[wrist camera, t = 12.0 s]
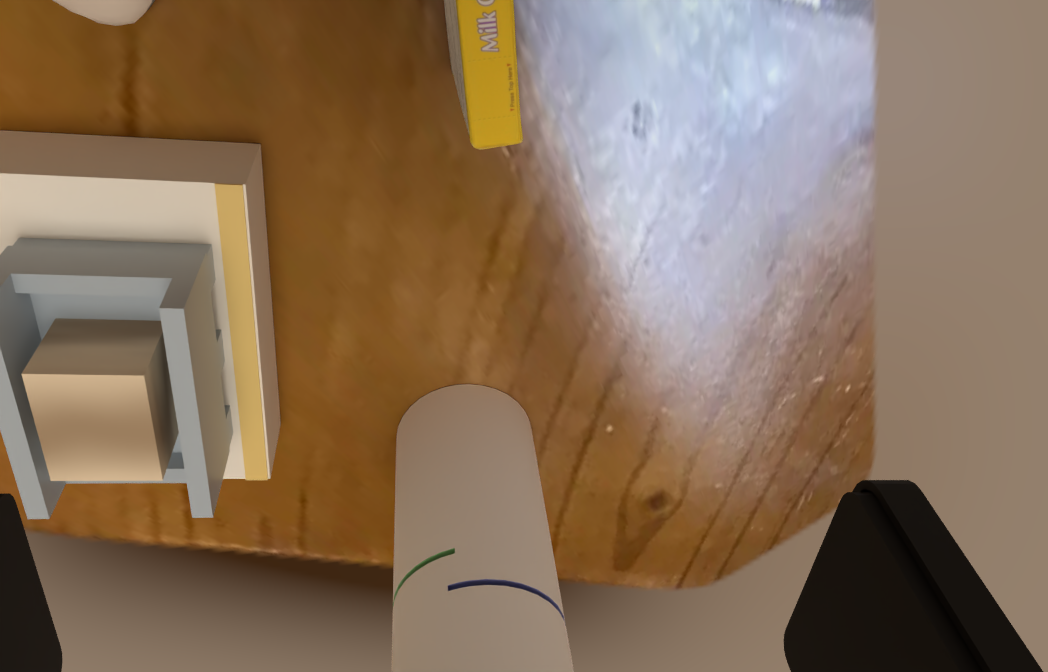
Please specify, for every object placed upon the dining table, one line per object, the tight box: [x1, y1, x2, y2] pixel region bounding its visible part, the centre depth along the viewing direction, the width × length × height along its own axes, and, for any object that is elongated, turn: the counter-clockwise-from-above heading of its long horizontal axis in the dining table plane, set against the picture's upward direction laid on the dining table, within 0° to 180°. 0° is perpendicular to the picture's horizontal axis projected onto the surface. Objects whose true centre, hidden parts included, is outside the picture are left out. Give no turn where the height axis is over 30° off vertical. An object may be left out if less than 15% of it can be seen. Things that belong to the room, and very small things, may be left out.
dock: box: [0, 130, 281, 480], centre depth 38 cm, size 15×10×4 cm, turn 174°
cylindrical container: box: [392, 384, 574, 672], centre depth 36 cm, size 7×7×25 cm
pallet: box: [0, 238, 233, 519], centre depth 34 cm, size 10×7×5 cm
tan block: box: [22, 318, 179, 481], centre depth 33 cm, size 5×4×4 cm
